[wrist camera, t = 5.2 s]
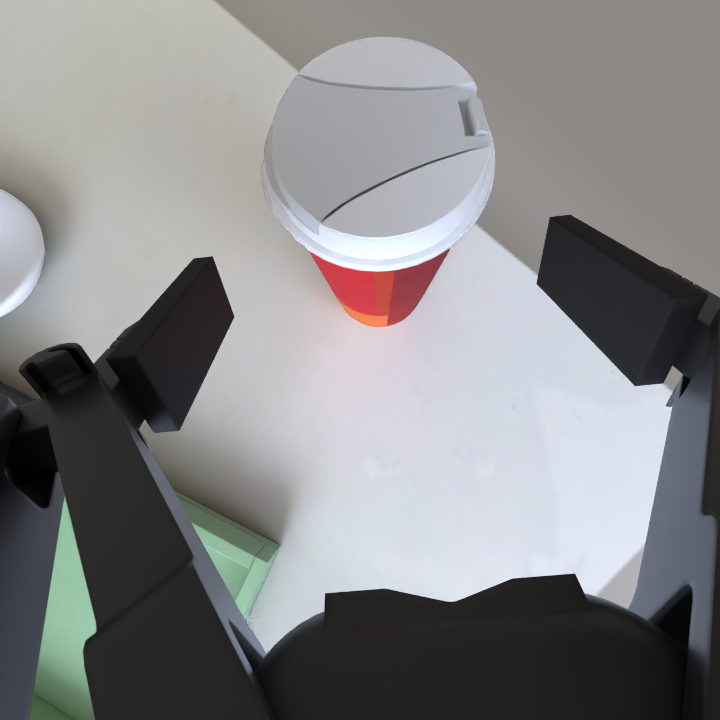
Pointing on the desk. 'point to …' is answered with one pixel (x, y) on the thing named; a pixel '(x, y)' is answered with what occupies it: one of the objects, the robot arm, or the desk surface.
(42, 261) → the spoon
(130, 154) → the desk surface
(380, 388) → the desk surface
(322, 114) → the paper cup
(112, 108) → the desk surface
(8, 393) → the charcoal tray
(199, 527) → the sage tray
